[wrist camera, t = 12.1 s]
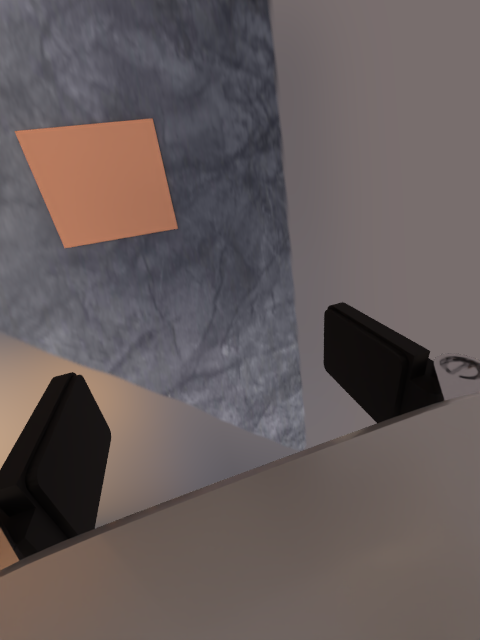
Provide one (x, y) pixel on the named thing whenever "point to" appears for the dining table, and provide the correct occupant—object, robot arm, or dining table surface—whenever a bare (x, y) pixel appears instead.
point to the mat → (101, 180)
